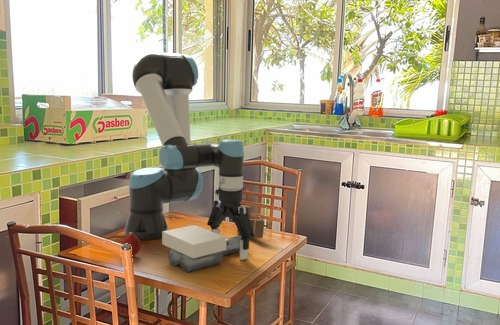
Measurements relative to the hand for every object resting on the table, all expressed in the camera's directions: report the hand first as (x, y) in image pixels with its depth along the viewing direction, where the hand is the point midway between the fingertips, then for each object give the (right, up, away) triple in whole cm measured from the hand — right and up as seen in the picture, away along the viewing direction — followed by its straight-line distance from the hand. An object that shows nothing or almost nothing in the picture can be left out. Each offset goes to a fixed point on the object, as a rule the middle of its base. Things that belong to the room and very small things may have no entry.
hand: (229, 253), depth 155 cm
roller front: (-8, -2, -12) cm, 14 cm away
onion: (-30, 0, -6) cm, 31 cm away
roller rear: (-13, 0, -6) cm, 15 cm away
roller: (0, 0, 0) cm, 0 cm away
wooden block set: (+6, +3, +20) cm, 22 cm away
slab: (-10, +4, -10) cm, 15 cm away
